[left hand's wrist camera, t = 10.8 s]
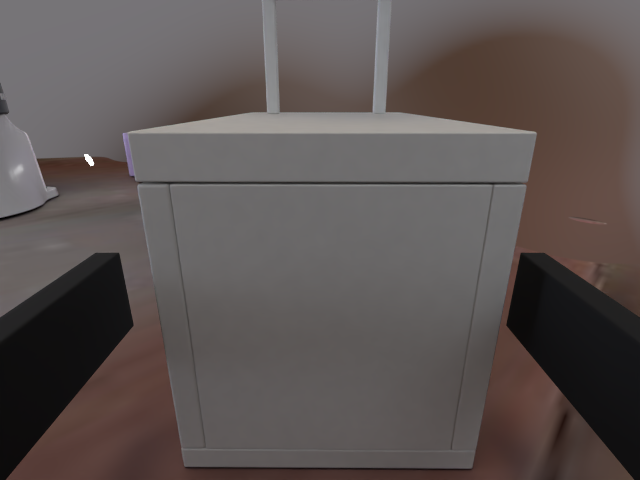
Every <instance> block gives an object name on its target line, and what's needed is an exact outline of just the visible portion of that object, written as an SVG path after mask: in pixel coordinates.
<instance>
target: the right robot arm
mask: <svg viewBox="0 0 640 480" xmlns="http://www.w3.org/2000/svg"><path fill="white" fill-rule="evenodd" d="M6 100H7V99H6V96H5V94H4V93H3V90H2V87H1V84H0V218H2V217H6V216H10V215H14V214H18V213H22V212H25V211H28V210H31V209H34V208H36V207H39V206H41V205H42V204H44V203H45V201H46V200H48V199H50V198H53V197H55V196H58V195H59V194H58V191H57V188H55V187H47V186H45V183H44V180H43V177H42V174H41V171H40V169H39V166H38V163H37V160H36V157H35V154H34V151H33V148H32V145H31V142H30V139H29V137H28V135H27V134H26V133H25V132H23V131H22V130H21V129H19V128H17V127H16V126H14V125H13V124H12V123H11V122H10V120H9V119H8V118H7V116H6V114H8V113H9V110H8V106H7V103H6ZM85 158H86V160H87V161H88V163H89V164H90V165H93V160H92V159H91V158H90V157H89V156H88V155H87V154H85Z"/></svg>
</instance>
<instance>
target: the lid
mask: <svg viewBox="0 0 640 480" xmlns="http://www.w3.org/2000/svg"><path fill="white" fill-rule="evenodd" d="M391 4H392V0H378V9H377V31H376V53H375V74H374V96H373V112H370V113H368V112H362V113H359V112H358V113H355V112H354V113H350V112H349V113H345V112H343V113H342V112H336V113H333V112H331V113H329V112H328V113H326V112H325V113H324V112H320V113H319V112H318V113H317V112H303V113H301V112H300V113H299V112H297V113H296V112H280V107H279V79H278V50H277V21H276V0H262V8H263V30H264V52H265V73H266V96H267V113H266V112H262V113H261V112H260V113H259V112H256V113H255V112H252V113H246V114H240V115H233V116H227V117H220V118H214V119H208V120H202V121H195V122H189V123H182V124H176V125H170V126H163V127H156V128H150V129H144V130H137V131H131V132H128V140H129V146H130V152H131V158H132V164H133V169H134V175H135V181H136V182H442V183H525V182H527V181H528V177H529V171H530V166H531V161H532V156H533V151H534V145H535V140H536V135H537V134H536V132H531V131H524V130H517V129H510V128H503V127H497V126H490V125H483V124H476V123H469V122H462V121H455V120H448V119H441V118H434V117H427V116H420V115H413V114H406V113H385V110H386V92H387V74H388V57H389V39H390V22H391Z"/></svg>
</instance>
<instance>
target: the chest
mask: <svg viewBox="0 0 640 480" xmlns="http://www.w3.org/2000/svg"><path fill="white" fill-rule="evenodd" d="M137 189H138V195H139V200H140V206H141V212H142V218H143V224H144V230H145V236H146V242H147V247H148V253H149V259H150V265H151V271H152V277H153V283H154V289H155V295H156V300H157V306H158V312H159V318H160V324H161V330H162V336H163V342H164V347H165V353H166V359H167V365H168V371H169V377H170V383H171V389H172V394H173V400H174V406H175V412H176V418H177V424H178V430H179V436H180V442H181V447H182V456H183V461H184V466H185V467H288V468H445V469H471V468H472V467H473V462H474V457H475V450H476V447H477V442H478V437H479V431H480V426H481V421H482V416H483V411H484V405H485V400H486V395H487V390H488V385H489V379H490V374H491V369H492V364H493V359H494V353H495V348H496V343H497V338H498V333H499V327H500V322H501V317H502V312H503V307H504V301H505V296H506V291H507V286H508V280H509V275H510V270H511V265H512V260H513V254H514V249H515V244H516V239H517V234H518V228H519V223H520V218H521V213H522V208H523V202H524V197H525V192H526V185H524V184H522V183H442V182H143V183H141V184H139V185H138V187H137Z"/></svg>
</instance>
